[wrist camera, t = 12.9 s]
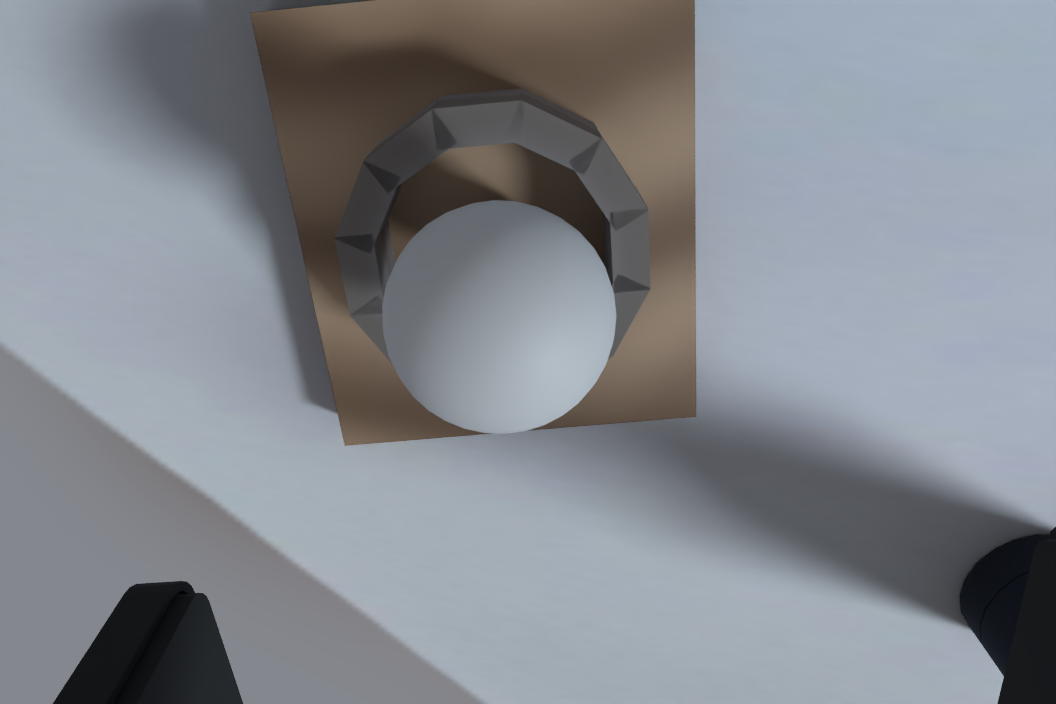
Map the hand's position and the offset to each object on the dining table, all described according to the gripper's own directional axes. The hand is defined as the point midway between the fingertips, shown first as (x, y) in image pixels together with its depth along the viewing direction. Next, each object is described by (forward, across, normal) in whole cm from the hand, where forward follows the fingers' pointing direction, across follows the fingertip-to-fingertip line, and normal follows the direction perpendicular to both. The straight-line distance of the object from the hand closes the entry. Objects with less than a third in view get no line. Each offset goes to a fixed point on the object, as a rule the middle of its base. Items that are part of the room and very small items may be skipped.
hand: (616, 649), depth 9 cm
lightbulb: (+21, +2, +1) cm, 21 cm away
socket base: (+22, +2, +1) cm, 23 cm away
